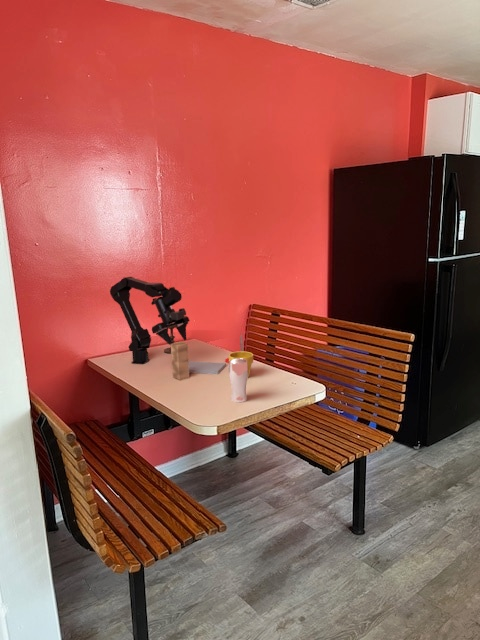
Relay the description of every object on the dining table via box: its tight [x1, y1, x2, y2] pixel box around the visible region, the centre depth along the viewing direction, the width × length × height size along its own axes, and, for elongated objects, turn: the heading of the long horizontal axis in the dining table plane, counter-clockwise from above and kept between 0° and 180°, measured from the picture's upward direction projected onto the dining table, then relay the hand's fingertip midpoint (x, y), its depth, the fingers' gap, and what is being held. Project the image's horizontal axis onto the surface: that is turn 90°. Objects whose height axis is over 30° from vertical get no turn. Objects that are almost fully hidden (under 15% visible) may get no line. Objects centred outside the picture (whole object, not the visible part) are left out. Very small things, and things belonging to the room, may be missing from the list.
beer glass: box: [228, 358, 249, 403], centre depth 177 cm, size 7×7×15 cm
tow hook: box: [224, 333, 245, 364], centre depth 224 cm, size 8×13×9 cm
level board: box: [188, 360, 227, 375], centre depth 215 cm, size 18×12×1 cm, turn 74°
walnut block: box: [170, 341, 190, 381], centre depth 202 cm, size 5×5×15 cm
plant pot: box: [228, 350, 254, 378], centre depth 202 cm, size 10×10×10 cm
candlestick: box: [163, 283, 177, 355], centre depth 241 cm, size 11×11×35 cm
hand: (178, 342), depth 210 cm, fingers open, 9 cm apart
